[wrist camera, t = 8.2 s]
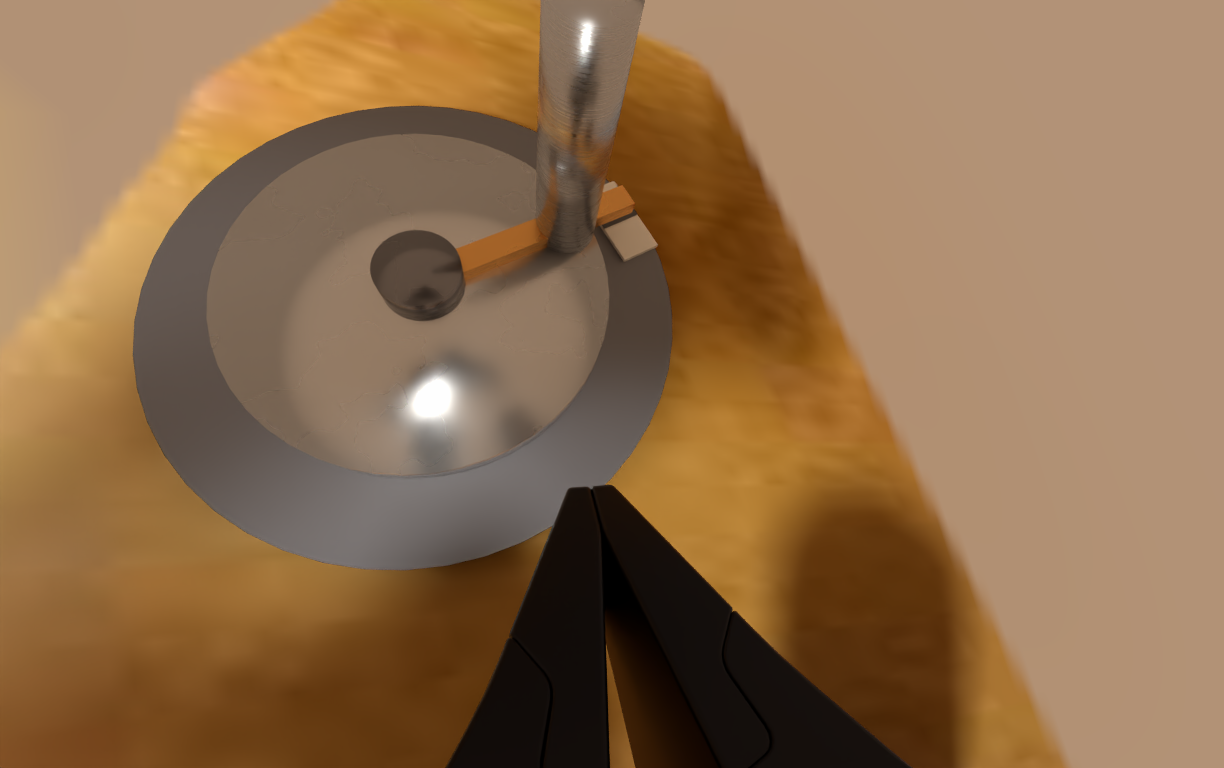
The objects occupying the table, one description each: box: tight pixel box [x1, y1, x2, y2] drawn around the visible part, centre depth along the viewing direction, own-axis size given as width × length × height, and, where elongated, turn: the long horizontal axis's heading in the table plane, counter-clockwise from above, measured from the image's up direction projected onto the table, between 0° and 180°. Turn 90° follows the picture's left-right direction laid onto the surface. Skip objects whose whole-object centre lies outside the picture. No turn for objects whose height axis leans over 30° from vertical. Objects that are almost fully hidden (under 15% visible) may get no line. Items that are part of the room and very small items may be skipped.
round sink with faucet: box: [206, 0, 645, 479], centre depth 14 cm, size 16×14×10 cm
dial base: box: [133, 106, 672, 570], centre depth 19 cm, size 20×20×2 cm
